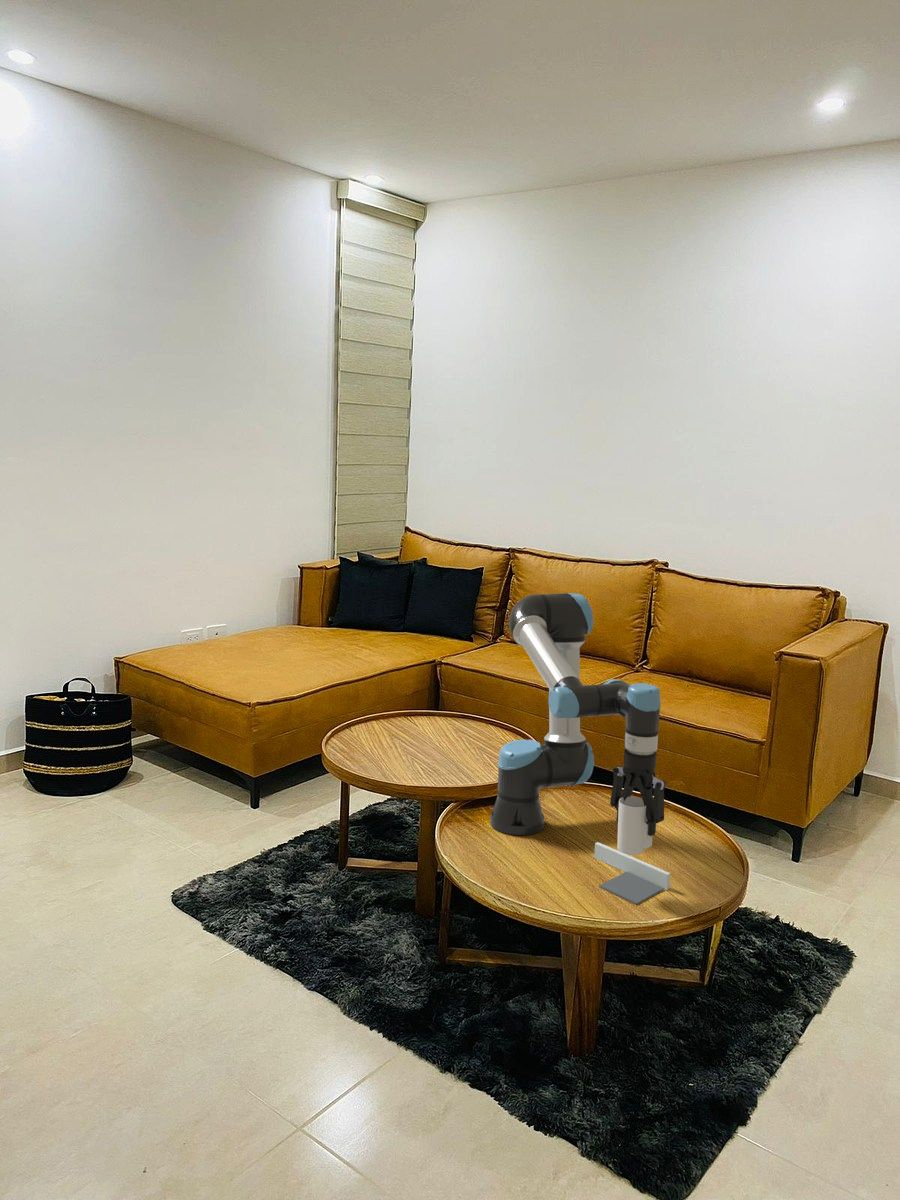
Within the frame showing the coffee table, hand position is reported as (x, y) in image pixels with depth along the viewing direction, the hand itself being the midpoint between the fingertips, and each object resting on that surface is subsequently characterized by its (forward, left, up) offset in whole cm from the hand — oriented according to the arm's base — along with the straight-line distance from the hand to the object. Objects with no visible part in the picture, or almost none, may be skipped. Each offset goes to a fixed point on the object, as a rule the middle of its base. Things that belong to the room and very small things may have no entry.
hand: (634, 841), depth 214 cm
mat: (0, 0, -12) cm, 12 cm away
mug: (0, 0, -2) cm, 2 cm away
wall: (-5, +7, -12) cm, 15 cm away
